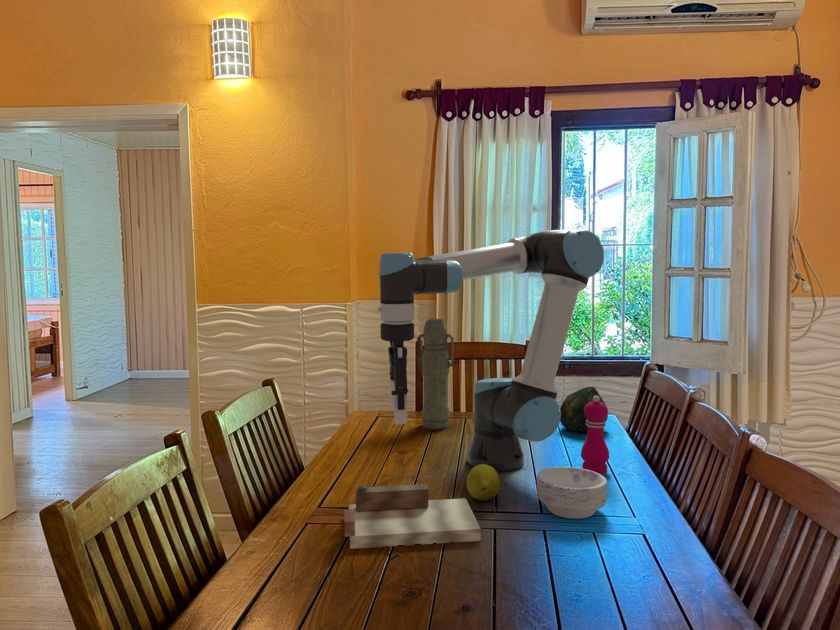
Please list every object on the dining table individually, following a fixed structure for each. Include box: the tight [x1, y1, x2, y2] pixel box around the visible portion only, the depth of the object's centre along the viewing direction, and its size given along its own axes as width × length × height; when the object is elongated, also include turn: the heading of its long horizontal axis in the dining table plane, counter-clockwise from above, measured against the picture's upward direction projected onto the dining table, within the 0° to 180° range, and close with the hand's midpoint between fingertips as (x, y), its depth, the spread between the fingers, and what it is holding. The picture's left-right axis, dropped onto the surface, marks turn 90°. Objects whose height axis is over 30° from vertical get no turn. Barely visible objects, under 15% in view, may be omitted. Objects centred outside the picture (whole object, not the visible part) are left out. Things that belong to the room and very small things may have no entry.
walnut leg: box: [355, 483, 429, 511], centre depth 142 cm, size 16×3×5 cm, turn 97°
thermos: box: [416, 318, 455, 431], centre depth 213 cm, size 9×12×35 cm
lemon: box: [465, 464, 501, 501], centre depth 152 cm, size 11×8×8 cm
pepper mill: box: [580, 396, 610, 476], centre depth 171 cm, size 7×7×20 cm
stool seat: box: [343, 497, 482, 550], centre depth 138 cm, size 27×16×6 cm, turn 97°
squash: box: [559, 386, 609, 432], centre depth 208 cm, size 14×15×15 cm
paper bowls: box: [536, 466, 608, 520], centre depth 146 cm, size 15×15×8 cm
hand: (398, 415), depth 148 cm, fingers open, 13 cm apart
